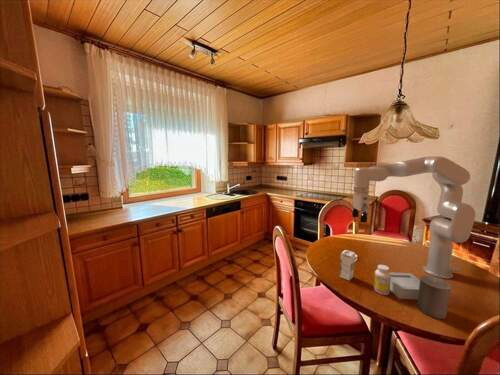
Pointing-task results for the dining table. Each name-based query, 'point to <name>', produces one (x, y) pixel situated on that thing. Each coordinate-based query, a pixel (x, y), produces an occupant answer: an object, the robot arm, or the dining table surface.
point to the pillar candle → (433, 296)
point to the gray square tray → (404, 285)
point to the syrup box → (347, 265)
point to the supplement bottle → (382, 280)
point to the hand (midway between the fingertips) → (359, 219)
